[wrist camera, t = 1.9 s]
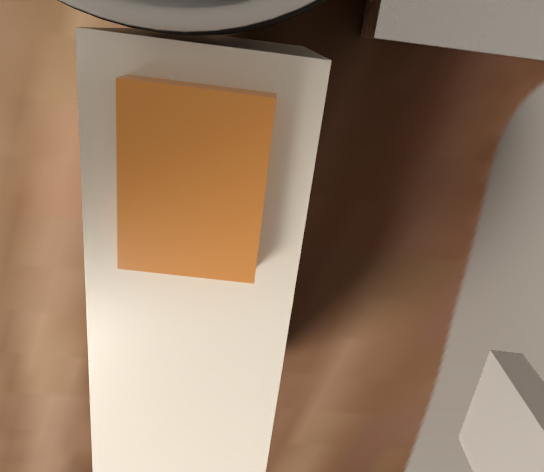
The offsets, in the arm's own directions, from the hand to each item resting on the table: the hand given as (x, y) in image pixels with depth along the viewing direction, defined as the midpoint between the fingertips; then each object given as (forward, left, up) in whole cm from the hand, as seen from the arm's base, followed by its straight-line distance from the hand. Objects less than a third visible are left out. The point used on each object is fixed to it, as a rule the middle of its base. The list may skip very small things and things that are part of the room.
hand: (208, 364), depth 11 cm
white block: (0, 0, -9) cm, 9 cm away
